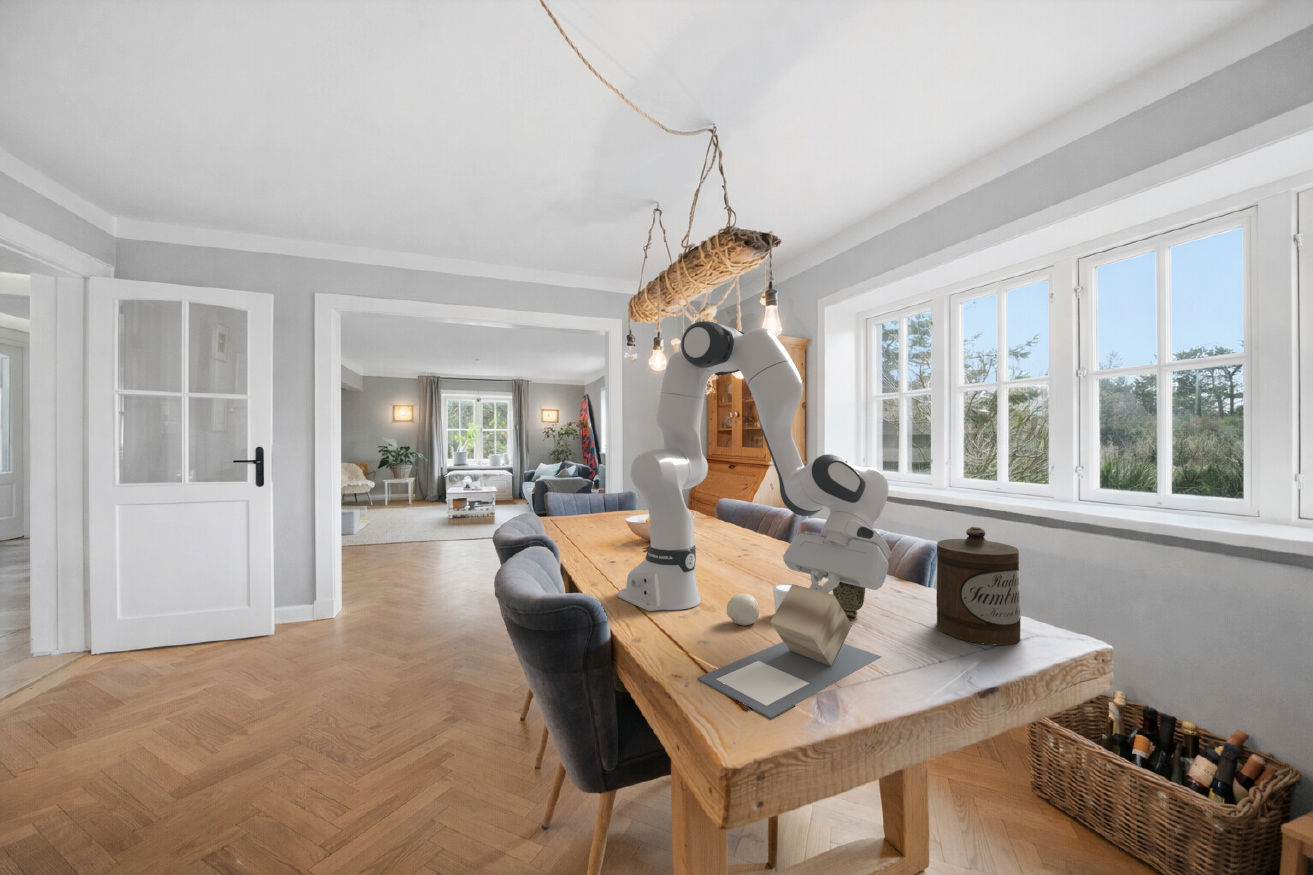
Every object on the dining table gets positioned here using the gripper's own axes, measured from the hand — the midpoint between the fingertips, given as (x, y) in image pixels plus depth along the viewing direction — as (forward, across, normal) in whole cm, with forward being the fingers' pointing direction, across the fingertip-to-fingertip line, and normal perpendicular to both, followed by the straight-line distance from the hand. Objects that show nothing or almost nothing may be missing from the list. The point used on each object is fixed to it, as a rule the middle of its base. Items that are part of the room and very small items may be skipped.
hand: (816, 595), depth 94 cm
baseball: (+7, -20, +10) cm, 23 cm away
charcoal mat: (+14, 0, +3) cm, 14 cm away
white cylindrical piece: (0, -16, +17) cm, 23 cm away
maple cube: (+5, 0, +7) cm, 8 cm away
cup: (-9, -8, +25) cm, 28 cm away
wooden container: (-17, +14, +34) cm, 40 cm away
